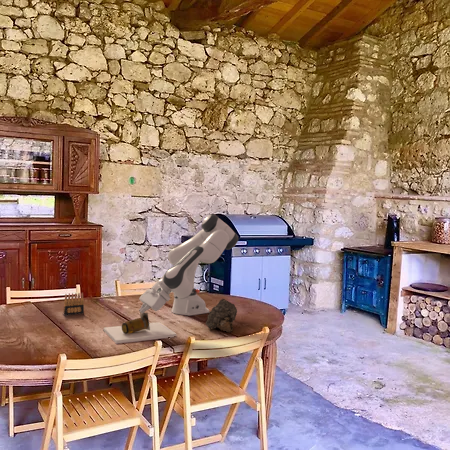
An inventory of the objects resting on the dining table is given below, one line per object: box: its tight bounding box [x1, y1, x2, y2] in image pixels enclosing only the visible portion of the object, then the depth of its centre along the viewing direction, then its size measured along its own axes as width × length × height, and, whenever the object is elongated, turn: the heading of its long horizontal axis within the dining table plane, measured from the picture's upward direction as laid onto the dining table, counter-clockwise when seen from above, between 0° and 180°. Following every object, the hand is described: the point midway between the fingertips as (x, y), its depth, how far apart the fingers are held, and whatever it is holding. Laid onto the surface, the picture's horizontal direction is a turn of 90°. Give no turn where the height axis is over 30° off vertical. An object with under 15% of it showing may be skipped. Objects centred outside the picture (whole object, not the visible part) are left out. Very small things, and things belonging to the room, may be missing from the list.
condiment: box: [121, 311, 150, 334], centre depth 235 cm, size 7×8×12 cm
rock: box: [205, 298, 238, 333], centre depth 252 cm, size 18×14×15 cm
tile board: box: [102, 321, 178, 344], centre depth 238 cm, size 30×22×2 cm
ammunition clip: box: [63, 292, 85, 316], centre depth 268 cm, size 11×2×12 cm, turn 120°
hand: (140, 312), depth 238 cm, fingers closed
